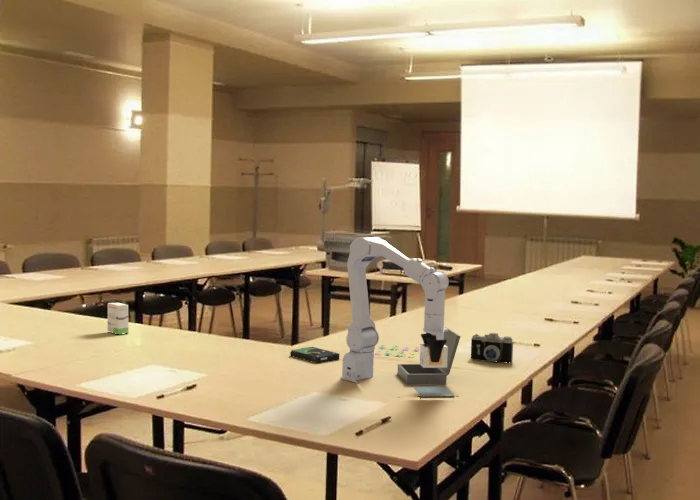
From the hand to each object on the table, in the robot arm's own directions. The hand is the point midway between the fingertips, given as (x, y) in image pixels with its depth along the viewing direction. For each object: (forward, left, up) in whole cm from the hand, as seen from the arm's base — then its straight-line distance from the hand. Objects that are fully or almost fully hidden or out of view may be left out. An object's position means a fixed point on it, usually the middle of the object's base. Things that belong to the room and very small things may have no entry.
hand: (432, 360), depth 222 cm
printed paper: (+34, +46, -10) cm, 58 cm away
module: (0, 0, -2) cm, 2 cm away
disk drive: (+3, +56, -10) cm, 57 cm away
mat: (-1, -1, -10) cm, 10 cm away
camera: (+49, +15, -10) cm, 53 cm away
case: (+9, +9, -9) cm, 16 cm away
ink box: (-30, +136, -10) cm, 140 cm away
